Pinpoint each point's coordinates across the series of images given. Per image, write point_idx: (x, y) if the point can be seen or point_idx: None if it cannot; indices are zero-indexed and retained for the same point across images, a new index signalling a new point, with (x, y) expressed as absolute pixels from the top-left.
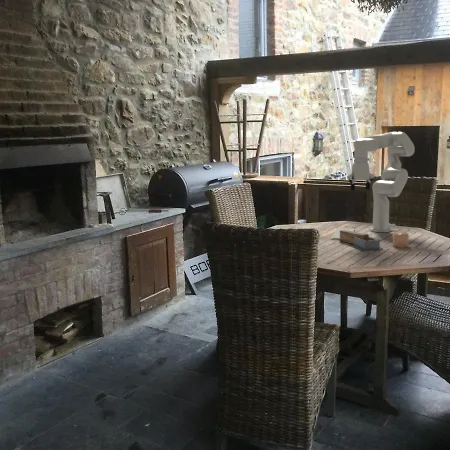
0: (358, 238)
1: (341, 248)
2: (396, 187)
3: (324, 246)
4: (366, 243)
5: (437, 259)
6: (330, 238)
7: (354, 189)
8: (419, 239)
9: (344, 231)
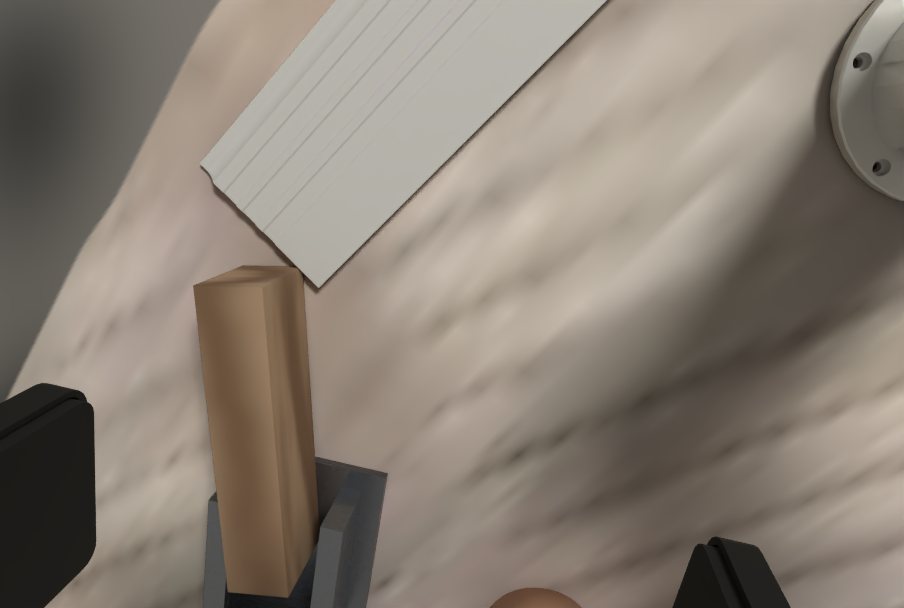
0: (213, 551)
1: (127, 464)
2: None
3: (43, 355)
4: None
5: None
6: (206, 157)
7: (64, 578)
8: (865, 582)
9: (202, 357)
